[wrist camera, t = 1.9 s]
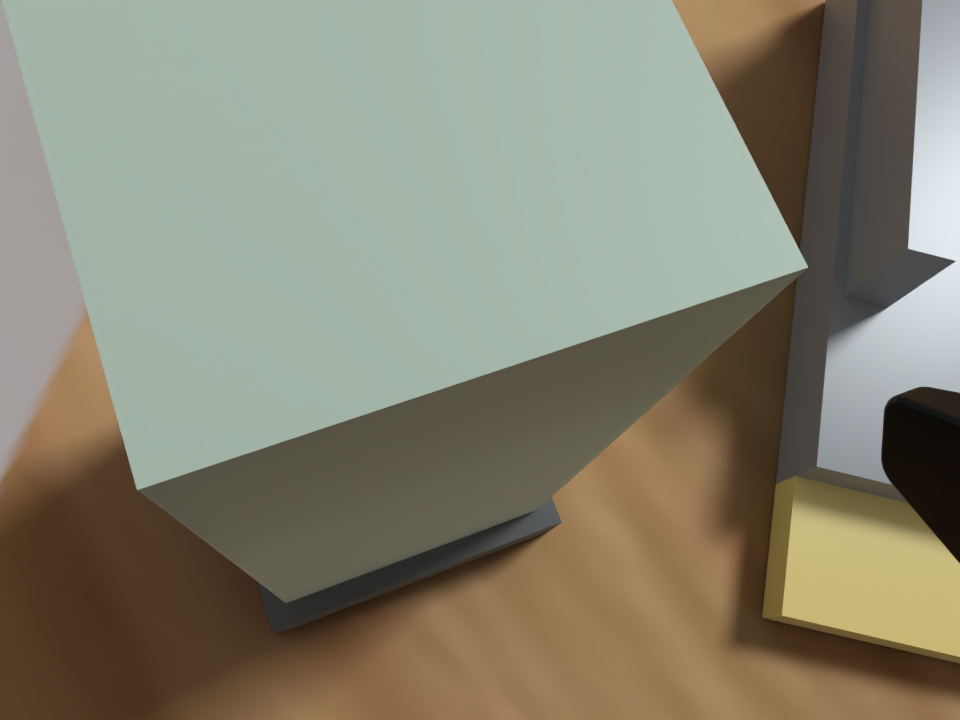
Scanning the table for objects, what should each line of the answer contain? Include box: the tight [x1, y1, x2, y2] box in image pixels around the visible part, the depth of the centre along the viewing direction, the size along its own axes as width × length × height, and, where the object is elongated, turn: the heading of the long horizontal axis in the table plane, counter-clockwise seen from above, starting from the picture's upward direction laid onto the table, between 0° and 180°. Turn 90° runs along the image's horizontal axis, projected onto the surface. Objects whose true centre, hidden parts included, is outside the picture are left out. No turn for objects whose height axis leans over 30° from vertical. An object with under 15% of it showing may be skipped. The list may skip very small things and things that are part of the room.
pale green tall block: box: [2, 0, 808, 634], centre depth 14 cm, size 6×6×14 cm
